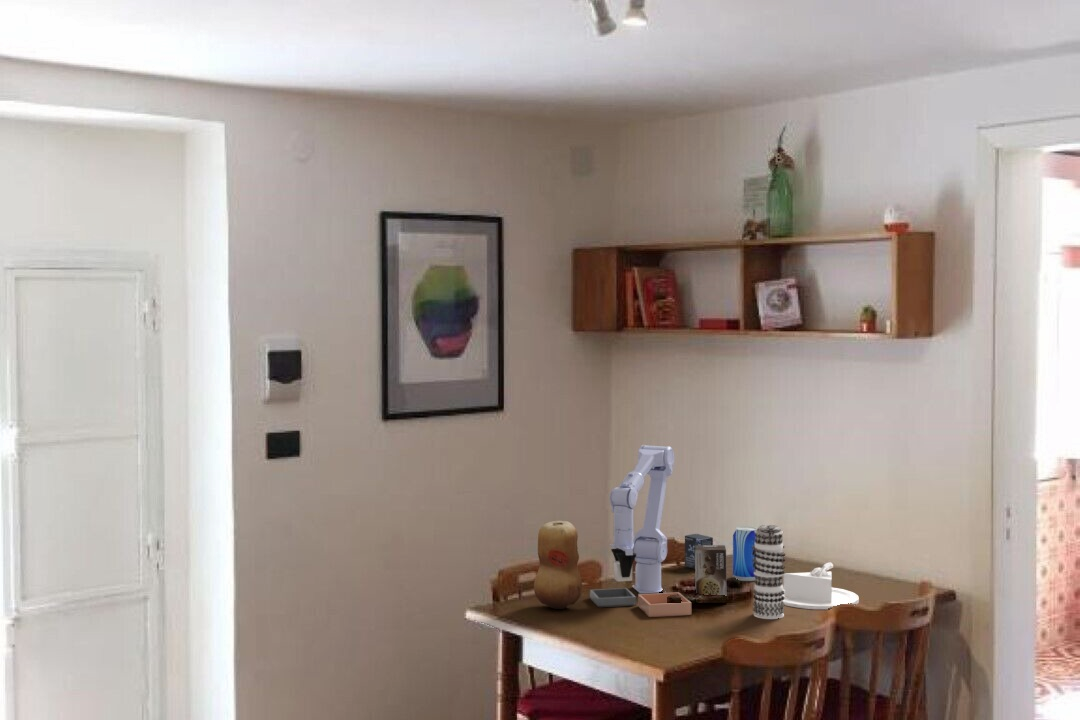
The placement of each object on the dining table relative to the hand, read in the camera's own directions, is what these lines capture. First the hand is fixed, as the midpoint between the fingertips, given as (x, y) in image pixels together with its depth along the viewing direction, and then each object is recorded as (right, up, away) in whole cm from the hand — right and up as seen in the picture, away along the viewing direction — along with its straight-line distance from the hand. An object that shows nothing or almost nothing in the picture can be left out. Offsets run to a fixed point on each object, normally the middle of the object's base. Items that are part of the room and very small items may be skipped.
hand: (623, 575), depth 361 cm
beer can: (+41, -7, +31) cm, 51 cm away
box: (+28, -6, +47) cm, 55 cm away
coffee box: (+26, -8, +2) cm, 27 cm away
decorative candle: (+39, -9, -14) cm, 43 cm away
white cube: (0, -1, 0) cm, 1 cm away
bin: (+11, -9, -8) cm, 16 cm away
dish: (+57, -8, +4) cm, 57 cm away
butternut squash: (-19, -9, -4) cm, 21 cm away
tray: (-3, -8, +3) cm, 9 cm away
